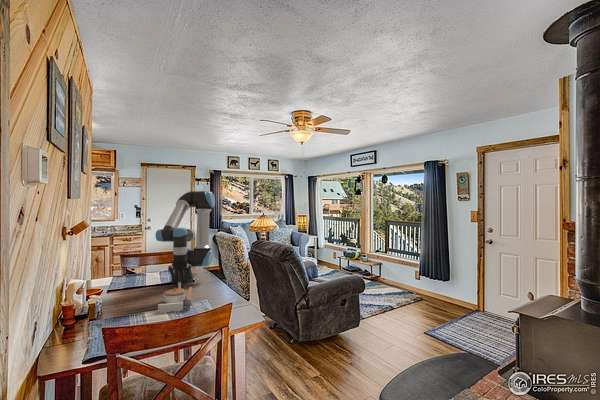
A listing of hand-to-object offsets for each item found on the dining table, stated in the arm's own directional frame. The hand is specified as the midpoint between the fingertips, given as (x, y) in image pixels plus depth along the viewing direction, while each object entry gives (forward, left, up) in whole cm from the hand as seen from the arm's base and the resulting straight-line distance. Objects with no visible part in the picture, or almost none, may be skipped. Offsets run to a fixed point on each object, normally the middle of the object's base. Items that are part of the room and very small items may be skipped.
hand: (179, 293), depth 178 cm
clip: (+11, +6, 0) cm, 12 cm away
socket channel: (+12, -1, -3) cm, 12 cm away
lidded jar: (+12, -1, -3) cm, 13 cm away
